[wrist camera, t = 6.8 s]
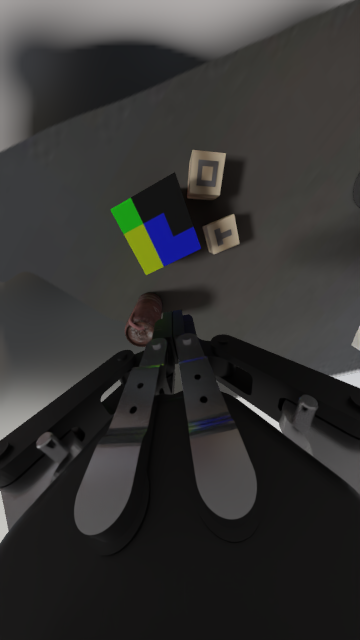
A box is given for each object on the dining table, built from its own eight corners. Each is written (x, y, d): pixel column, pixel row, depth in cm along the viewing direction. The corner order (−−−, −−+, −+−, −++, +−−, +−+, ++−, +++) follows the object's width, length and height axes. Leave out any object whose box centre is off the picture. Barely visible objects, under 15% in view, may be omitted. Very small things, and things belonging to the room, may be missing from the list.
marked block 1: (217, 165, 28) (226, 152, 23) (212, 200, 30) (220, 195, 26) (189, 162, 28) (192, 149, 23) (187, 198, 30) (189, 192, 26)
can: (148, 286, 38) (137, 312, 26) (167, 303, 40) (165, 335, 28) (132, 302, 40) (114, 333, 28) (151, 318, 42) (142, 353, 30)
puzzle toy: (193, 244, 34) (201, 248, 25) (152, 264, 36) (146, 274, 27) (174, 189, 29) (174, 172, 21) (127, 215, 31) (110, 209, 22)
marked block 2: (225, 216, 32) (234, 213, 27) (231, 242, 34) (240, 243, 30) (201, 226, 32) (206, 226, 28) (208, 251, 35) (214, 254, 30)
